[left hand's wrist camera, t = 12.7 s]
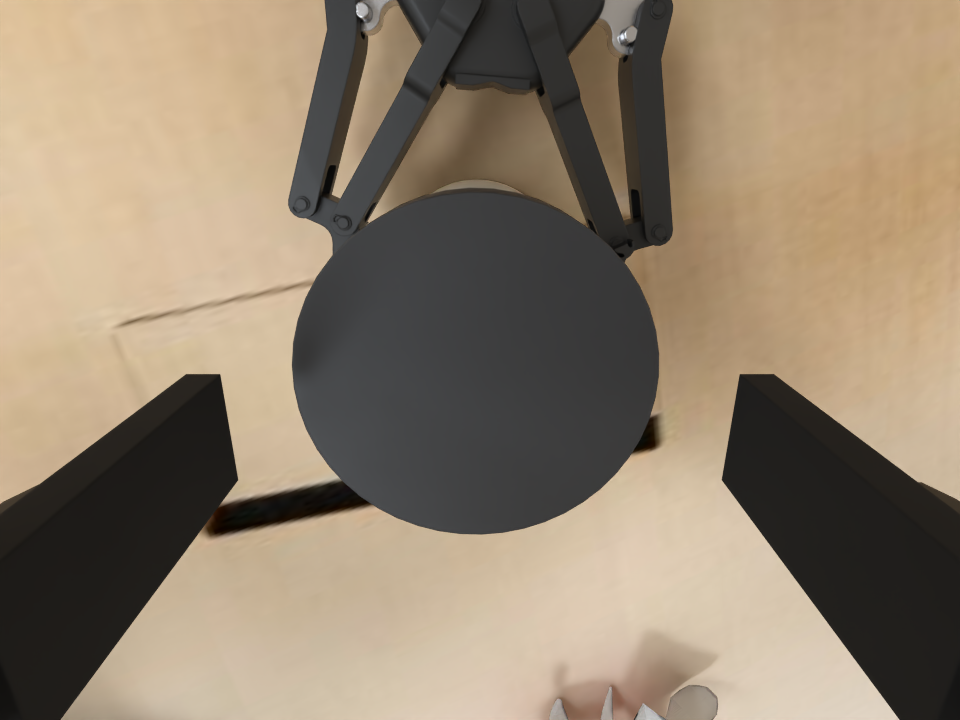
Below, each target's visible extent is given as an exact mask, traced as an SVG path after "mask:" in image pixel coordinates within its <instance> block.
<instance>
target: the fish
mask: <svg viewBox="0 0 960 720" xmlns="http://www.w3.org/2000/svg"><path fill="white" fill-rule="evenodd" d="M717 709H718V700H717V696H716V695H715V694H714V693H713V692H712V691H711V690H710V689H709V688H708V687H704V686H698V685H688V686H687V687H685V688H683V689H681V690H679V691H678V692H677V693H676V694H674V695H673V696H672V697H671V698H670V702H669V707H668V711H667V714H666V718H663V717H661V716H660V715H658V714H657V713H655V712H654V711H653V710H651V709H650V708H649V707H648V706H646V705H645V704H644V703H643V704H642V706H641V708H640V710H639V711H638V713H637V715H636V717H635V718H634V720H713V719H714V717H715V716H716V715H717ZM549 720H568V717H567V715H566V712H565V710H564V707H563V703H562V700H561V699H557V700H556V701H555V703H554V705H553V707H552V710H551V712H550V716H549ZM601 720H613V708H612V687H611V686H610V687H609V690H608V694H607V697H606V700H605V703H604V706H603V710H602V715H601Z"/></svg>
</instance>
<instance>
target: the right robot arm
mask: <svg viewBox="0 0 960 720" xmlns="http://www.w3.org/2000/svg"><path fill="white" fill-rule="evenodd" d="M394 6H400V8H401V10H402V11H403V13H404V15H405V17H406V18H407V20H408V22H409V24H410V25H411V27H412V29H413V31H414V32H415V34H416V36H417V38H418V39H419V41H420V43H421V45H422V46H421V48H420V50H419V52H418V54H417V56H416V57H415V59H414V61H413V63H412V65H411V67H410V68H409V70H408V72H407V74H406V77H405V79H404V83H403V85H402V87H401V89H400V91H399V93H398V95H397V97H396V98H395V100H394V102H393V104H392V106H391V107H390V109H389V111H388V113H387V115H386V117H385V118H384V120H383V122H382V124H381V126H380V128H379V129H378V131H377V133H376V135H375V137H374V139H373V140H372V142H371V144H370V146H369V148H368V149H367V151H366V153H365V155H364V157H363V159H362V160H361V162H360V164H359V166H358V168H357V170H356V171H355V173H354V175H353V177H352V179H351V180H350V182H349V184H348V186H347V188H346V190H345V191H344V193H343V195H342V197H341V199H340V198H338V197H335V196H333V195H332V191H333V187H334V183H335V179H336V176H337V172H338V168H339V164H340V160H341V156H342V152H343V148H344V144H345V140H346V136H347V132H348V128H349V124H350V120H351V116H352V112H353V108H354V104H355V100H356V96H357V92H358V89H359V85H360V81H361V77H362V73H363V69H364V65H365V60H366V55H367V47H368V36H370V35H375V34H377V33H378V32H379V31H380V30H381V28H382V26H383V21H384V16H385V14H386V12H387V11H388V10H389V9H390V8H392V7H394ZM325 9H326V20H327V33H326V37H325V42H324V46H323V51H322V55H321V59H320V64H319V68H318V72H317V77H316V81H315V86H314V90H313V94H312V99H311V103H310V107H309V112H308V116H307V121H306V125H305V129H304V134H303V138H302V142H301V147H300V151H299V156H298V160H297V164H296V169H295V173H294V177H293V182H292V186H291V191H290V195H289V199H288V205H289V208H290V211H291V212H292V213H293V214H294V215H295V216H297V217H299V218H307V219H309V220H311V221H314V222H316V223H318V224H320V225H322V226H324V227H325V228H326V229H327V230H328V231H329V232H330V234H331V236H332V241H333V255H334V254H335V253H336V251H337V250H338V249H339V248H340V247H341V246H342V245H343V244H344V243H345V242H346V241H347V240H348V239H349V238H351V237H352V236H353V235H354V234H356V233H357V232H358V231H360V230H361V229H362V228H364V227H365V226H366V225H367V224H368V223H369V222H367V221H368V219H369V218H370V216H371V214H372V212H373V211H374V209H375V207H376V205H377V204H378V202H379V200H380V198H381V197H382V195H383V193H384V191H385V190H386V188H387V186H388V184H389V183H390V181H391V179H392V177H393V176H394V174H395V172H396V170H397V169H398V167H399V165H400V163H401V162H402V160H403V158H404V156H405V155H406V153H407V151H408V149H409V148H410V146H411V144H412V142H413V141H414V139H415V137H416V135H417V134H418V132H419V130H420V128H421V127H422V125H423V123H424V121H425V120H426V118H427V116H428V114H429V113H430V111H431V109H432V108H433V106H434V105H435V104H436V102H437V101H438V99H439V97H440V96H441V94H442V92H443V90H444V89H445V87H446V85H447V83H449V84H451V85H452V86H455V87H456V89H460V90H472V91H474V90H479V89H484V88H489V87H493V88H496V89H498V90H501V91H504V92H506V93H509V94H519V95H526V94H527V93H530V92H533V91H536V94H537V97H538V99H539V102H540V105H541V107H542V110H543V112H544V113H545V115H546V117H547V119H548V122H549V124H550V127H551V130H552V132H553V135H554V138H555V140H556V143H557V146H558V148H559V151H560V154H561V156H562V159H563V161H564V164H565V167H566V169H567V172H568V175H569V177H570V180H571V183H572V185H573V188H574V191H575V193H576V196H577V198H578V201H579V204H580V206H581V209H582V212H583V214H584V217H585V220H586V222H587V225H588V228H589V229H590V230H592V231H593V232H594V233H595V234H597V235H598V236H599V237H600V238H601V239H602V240H603V241H604V242H606V243H607V244H608V245H609V246H610V247H611V248H612V249H613V250H614V251H615V253H616V254H617V255H618V256H619V257H620V258H621V260H622V261H623V262H624V263H625V260H626V258H628V257H629V256H631V254H632V253H633V251H635V250H637V249H641V248H644V247H648V246H652V245H655V246H661V245H663V244H665V243H667V242H668V241H669V240H670V238H671V236H672V231H673V226H672V212H671V197H670V183H669V168H668V153H667V139H666V124H665V110H664V95H663V81H662V66H661V57H662V53H663V49H664V45H665V41H666V37H667V33H668V29H669V25H670V20H671V16H672V12H673V3H672V0H325ZM594 24H598V25H600V26H602V27H603V28H604V30H605V31H606V34H607V44H608V49H609V51H610V53H611V54H612V55H614V56H615V57H618V58H619V67H618V86H619V96H620V107H621V118H622V129H623V139H624V150H625V161H626V172H627V183H628V193H629V204H630V215H631V219H628V220H624V221H623V218H622V215H621V212H620V210H619V207H618V204H617V201H616V198H615V196H614V193H613V190H612V187H611V184H610V182H609V179H608V176H607V173H606V170H605V168H604V165H603V162H602V159H601V156H600V153H599V151H598V148H597V145H596V142H595V139H594V137H593V134H592V131H591V128H590V125H589V123H588V120H587V117H586V114H585V111H584V109H583V106H582V103H581V99H580V92H579V88H578V85H577V82H576V79H575V76H574V73H573V70H572V68H571V65H570V62H569V59H568V56H569V55H570V54H571V53H572V51H573V50H574V49H575V48H576V46H577V45H578V44H579V43H580V41H581V40H582V39H583V38H584V36H585V35H586V34H587V33H588V31H589V30H590V29H591V28H592V26H593V25H594Z"/></svg>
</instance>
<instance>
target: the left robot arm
mask: <svg viewBox="0 0 960 720" xmlns="http://www.w3.org/2000/svg"><path fill="white" fill-rule="evenodd" d="M237 481H238V476H237V470H236V464H235V459H234V453H233V447H232V441H231V435H230V429H229V423H228V417H227V412H226V406H225V400H224V394H223V388H222V382H221V376H220V374H186V375H185V376H183V377H182V378H181V379H179V380H178V381H177V382H175V383H174V384H173V385H171V386H170V387H169V388H167V389H166V390H165V391H163V392H162V393H161V394H159V395H158V396H157V397H155V398H154V399H153V400H151V401H150V402H149V403H147V404H146V405H145V406H143V407H142V408H141V409H139V410H138V411H137V412H135V413H134V414H133V415H131V416H130V417H129V418H127V419H126V420H125V421H123V422H122V423H121V424H119V425H118V426H117V427H115V428H114V429H113V430H111V431H110V432H109V433H107V434H106V435H105V436H103V437H102V438H101V439H99V440H98V441H97V442H95V443H94V444H93V445H91V446H90V447H89V448H87V449H86V450H85V451H83V452H82V453H81V454H79V455H78V456H77V457H75V458H74V459H73V460H71V461H70V462H69V463H67V464H66V465H65V466H63V467H62V468H61V469H59V470H58V471H57V472H55V473H54V474H53V475H51V476H50V477H49V478H47V479H46V480H45V481H43V482H42V483H41V484H39V485H37V486H35V487H33V488H31V489H29V490H27V491H25V492H23V493H20V494H18V495H16V496H14V497H12V498H10V499H8V500H6V501H4V502H3V503H1V504H0V720H61V718H62V717H63V716H64V714H65V713H66V711H67V710H68V709H69V707H70V706H71V705H72V703H73V702H74V701H75V699H76V698H77V697H78V695H79V694H80V693H81V691H82V690H83V689H84V687H85V686H86V684H87V683H88V682H89V680H90V679H91V678H92V676H93V675H94V674H95V672H96V671H97V670H98V668H99V667H100V666H101V664H102V663H103V662H104V660H105V659H106V658H107V656H108V655H109V653H110V652H111V651H112V649H113V648H114V647H115V645H116V644H117V643H118V641H119V640H120V639H121V637H122V636H123V635H124V633H125V632H126V631H127V629H128V628H129V627H130V625H131V624H132V622H133V621H134V620H135V618H136V617H137V616H138V614H139V613H140V612H141V610H142V609H143V608H144V606H145V605H146V604H147V602H148V601H149V600H150V598H151V597H152V595H153V594H154V593H155V591H156V590H157V589H158V587H159V586H160V585H161V583H162V582H163V581H164V579H165V578H166V577H167V575H168V574H169V573H170V571H171V570H172V569H173V567H174V566H175V564H176V563H177V562H178V560H179V559H180V558H181V556H182V555H183V554H184V552H185V551H186V550H187V548H188V547H189V546H190V544H191V543H192V542H193V540H194V539H195V537H196V536H197V535H198V533H199V532H200V531H201V529H202V528H203V527H204V525H205V524H206V523H207V521H208V520H209V519H210V517H211V516H212V515H213V513H214V512H215V511H216V509H217V508H218V506H219V505H220V504H221V502H222V501H223V500H224V498H225V497H226V496H227V494H228V493H229V492H230V490H231V489H232V488H233V486H234V485H235V484H236V482H237ZM722 481H723V482H724V484H725V485H726V486H727V488H728V489H729V490H730V492H731V493H732V494H733V496H734V497H735V498H736V500H737V501H738V502H739V504H740V505H741V506H742V508H743V509H744V511H745V512H746V513H747V515H748V516H749V517H750V519H751V520H752V521H753V523H754V524H755V525H756V527H757V528H758V529H759V531H760V532H761V533H762V535H763V536H764V537H765V539H766V540H767V542H768V543H769V544H770V546H771V547H772V548H773V550H774V551H775V552H776V554H777V555H778V556H779V558H780V559H781V560H782V562H783V563H784V564H785V566H786V567H787V569H788V570H789V571H790V573H791V574H792V575H793V577H794V578H795V579H796V581H797V582H798V583H799V585H800V586H801V587H802V589H803V590H804V591H805V593H806V594H807V595H808V597H809V598H810V600H811V601H812V602H813V604H814V605H815V606H816V608H817V609H818V610H819V612H820V613H821V614H822V616H823V617H824V618H825V620H826V621H827V622H828V624H829V625H830V627H831V628H832V629H833V631H834V632H835V633H836V635H837V636H838V637H839V639H840V640H841V641H842V643H843V644H844V645H845V647H846V648H847V649H848V651H849V652H850V653H851V655H852V656H853V658H854V659H855V660H856V662H857V663H858V664H859V666H860V667H861V668H862V670H863V671H864V672H865V674H866V675H867V676H868V678H869V679H870V680H871V682H872V683H873V684H874V686H875V687H876V689H877V690H878V691H879V693H880V694H881V695H882V697H883V698H884V699H885V701H886V702H887V703H888V705H889V706H890V707H891V709H892V710H893V711H894V713H895V714H896V716H897V717H898V718H899V720H960V501H958V500H957V499H955V498H953V497H951V496H949V495H947V494H945V493H942V492H940V491H938V490H936V489H934V488H932V487H930V486H928V485H926V484H924V483H922V482H917V481H915V480H914V479H913V478H911V477H910V476H909V475H907V474H906V473H905V472H903V471H902V470H901V469H899V468H898V467H897V466H895V465H894V464H893V463H891V462H890V461H889V460H887V459H886V458H885V457H883V456H882V455H881V454H879V453H878V452H877V451H875V450H874V449H873V448H871V447H870V446H869V445H867V444H866V443H865V442H863V441H862V440H861V439H859V438H858V437H857V436H855V435H854V434H853V433H851V432H850V431H849V430H847V429H846V428H845V427H843V426H842V425H841V424H839V423H838V422H837V421H835V420H834V419H833V418H831V417H830V416H829V415H827V414H826V413H825V412H823V411H822V410H821V409H819V408H818V407H817V406H815V405H814V404H813V403H811V402H810V401H809V400H807V399H806V398H805V397H803V396H802V395H801V394H799V393H798V392H797V391H795V390H794V389H793V388H791V387H790V386H789V385H787V384H786V383H785V382H783V381H782V380H781V379H779V378H778V377H777V376H775V375H774V374H740V376H739V382H738V388H737V394H736V400H735V406H734V412H733V417H732V423H731V429H730V435H729V441H728V447H727V453H726V459H725V464H724V470H723V476H722Z"/></svg>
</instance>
